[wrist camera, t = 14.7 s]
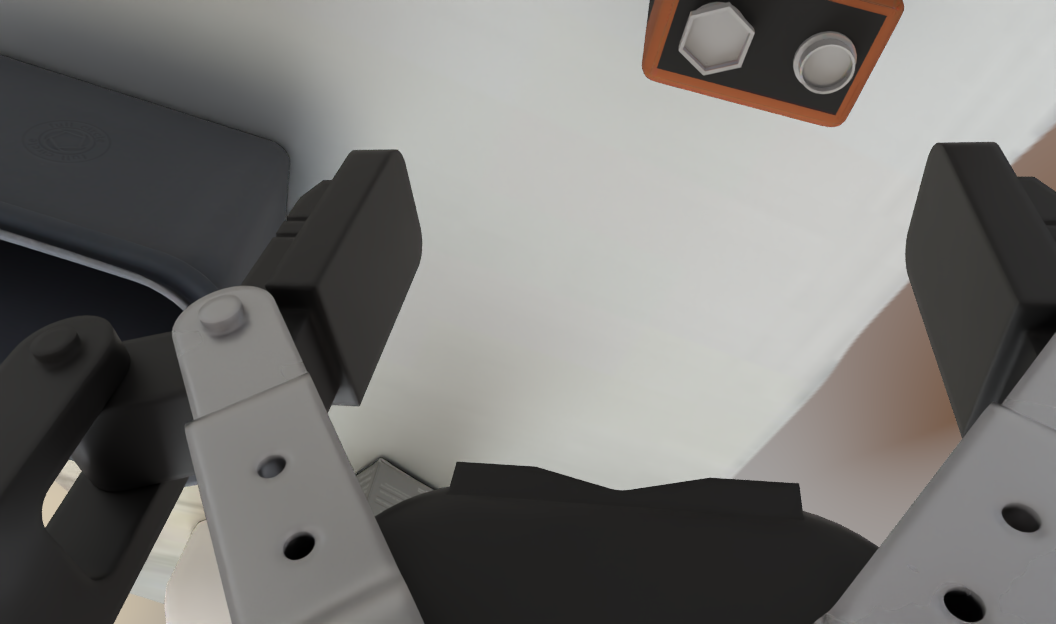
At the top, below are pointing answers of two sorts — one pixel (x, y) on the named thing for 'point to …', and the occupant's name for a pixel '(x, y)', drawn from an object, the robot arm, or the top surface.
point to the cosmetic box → (388, 486)
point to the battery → (771, 51)
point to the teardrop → (196, 584)
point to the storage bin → (122, 206)
